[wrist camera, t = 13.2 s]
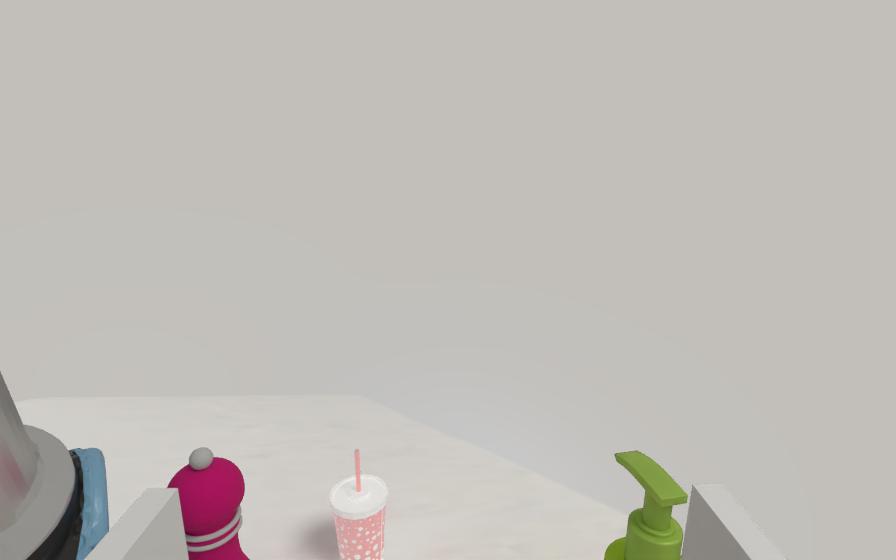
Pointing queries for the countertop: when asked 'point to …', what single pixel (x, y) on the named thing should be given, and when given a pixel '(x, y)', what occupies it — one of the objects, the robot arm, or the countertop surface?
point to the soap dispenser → (650, 514)
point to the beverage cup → (359, 515)
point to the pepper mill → (210, 506)
